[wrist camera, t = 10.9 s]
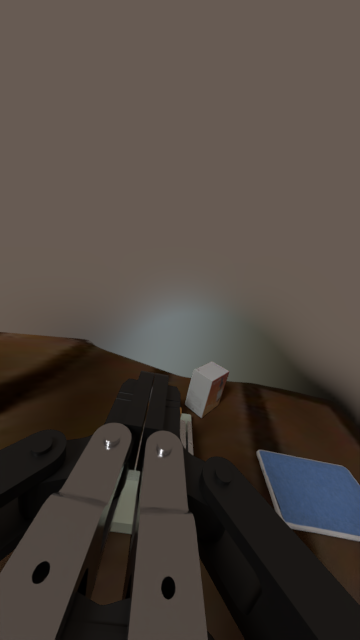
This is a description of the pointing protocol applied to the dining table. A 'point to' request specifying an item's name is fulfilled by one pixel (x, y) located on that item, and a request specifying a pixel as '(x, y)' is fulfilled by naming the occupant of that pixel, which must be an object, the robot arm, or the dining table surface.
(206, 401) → the small box
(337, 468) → the tablet computer
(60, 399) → the dining table surface
